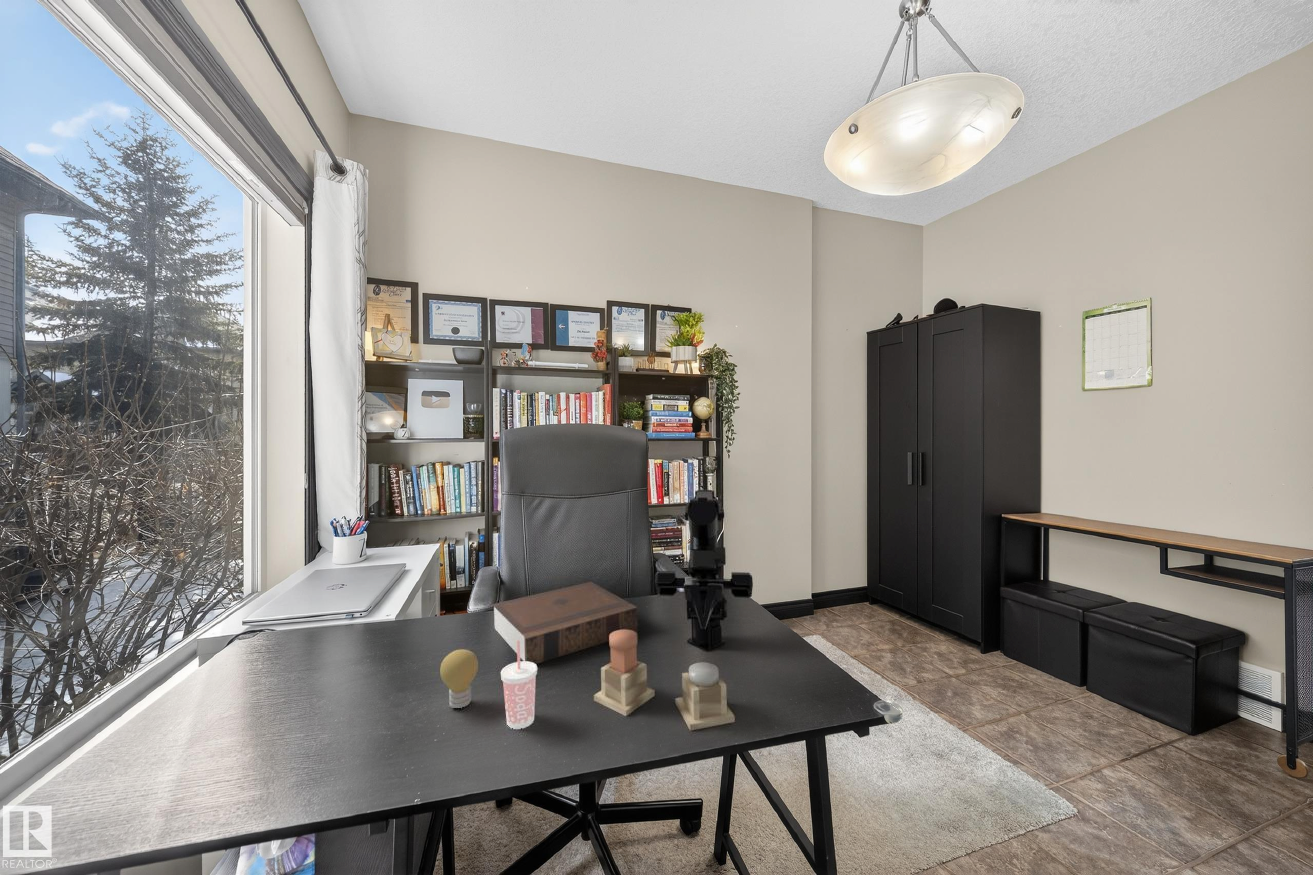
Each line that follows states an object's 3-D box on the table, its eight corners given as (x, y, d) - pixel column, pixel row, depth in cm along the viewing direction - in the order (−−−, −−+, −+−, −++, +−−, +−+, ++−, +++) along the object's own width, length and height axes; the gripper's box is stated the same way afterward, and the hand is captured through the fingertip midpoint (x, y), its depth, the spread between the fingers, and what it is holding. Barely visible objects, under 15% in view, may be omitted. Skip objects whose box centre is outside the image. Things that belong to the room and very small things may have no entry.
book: (637, 633, 118) (637, 607, 118) (526, 668, 102) (526, 638, 102) (591, 604, 138) (590, 581, 138) (492, 629, 122) (491, 604, 122)
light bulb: (486, 698, 91) (484, 646, 90) (462, 718, 84) (460, 662, 84) (458, 692, 93) (457, 641, 92) (433, 711, 87) (431, 657, 86)
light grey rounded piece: (685, 699, 87) (684, 664, 87) (712, 694, 88) (711, 660, 88) (695, 716, 82) (694, 679, 82) (723, 710, 83) (723, 674, 83)
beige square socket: (675, 703, 88) (675, 671, 88) (716, 696, 90) (716, 664, 90) (690, 730, 80) (689, 695, 80) (734, 721, 82) (734, 687, 82)
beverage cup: (499, 734, 80) (496, 651, 80) (504, 712, 86) (502, 635, 86) (537, 729, 81) (534, 647, 81) (540, 708, 87) (538, 632, 87)
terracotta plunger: (623, 659, 93) (622, 627, 93) (643, 667, 90) (642, 634, 90) (604, 670, 89) (603, 636, 89) (624, 679, 86) (624, 644, 86)
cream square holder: (623, 681, 96) (622, 651, 95) (654, 695, 91) (654, 664, 90) (593, 700, 89) (593, 668, 89) (626, 716, 84) (625, 682, 84)
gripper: (654, 530, 95) (648, 608, 84) (751, 531, 92) (757, 611, 82) (659, 558, 103) (654, 632, 92) (748, 559, 101) (753, 635, 90)
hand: (703, 627), depth 89 cm, fingers closed
